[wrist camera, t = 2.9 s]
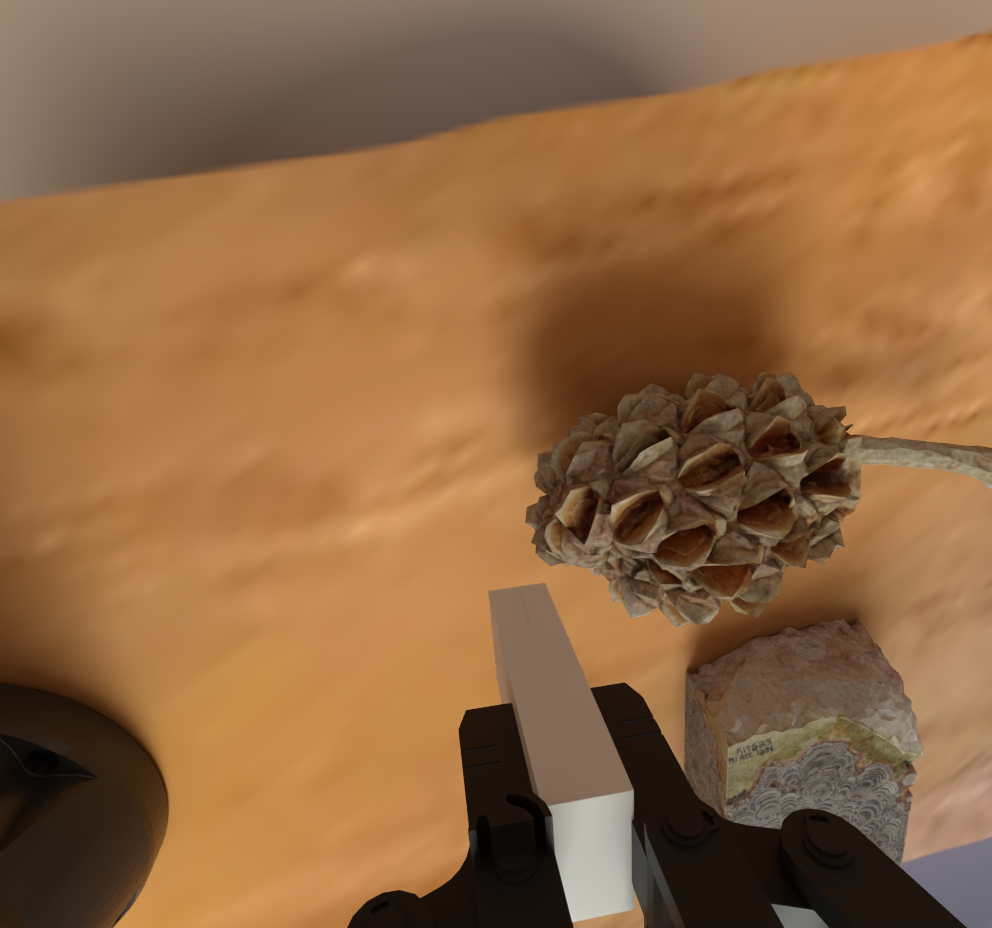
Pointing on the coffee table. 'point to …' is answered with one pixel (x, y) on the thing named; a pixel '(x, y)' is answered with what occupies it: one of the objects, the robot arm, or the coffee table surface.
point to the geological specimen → (804, 732)
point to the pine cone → (712, 492)
